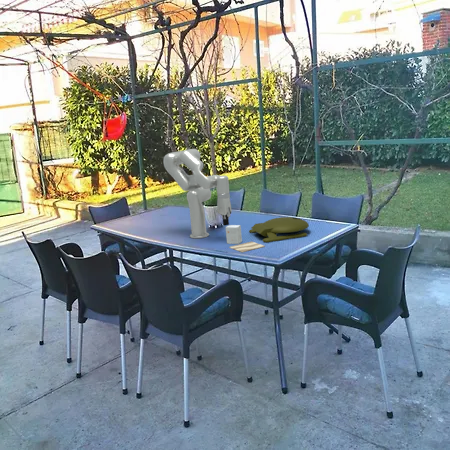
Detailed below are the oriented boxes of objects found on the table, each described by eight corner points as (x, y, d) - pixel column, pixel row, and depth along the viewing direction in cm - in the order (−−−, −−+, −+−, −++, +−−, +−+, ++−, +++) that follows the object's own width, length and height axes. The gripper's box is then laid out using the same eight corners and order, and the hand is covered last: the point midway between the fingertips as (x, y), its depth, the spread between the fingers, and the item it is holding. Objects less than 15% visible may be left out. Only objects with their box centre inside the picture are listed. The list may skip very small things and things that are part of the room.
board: (229, 247, 280) (229, 246, 279) (251, 242, 287) (251, 241, 287) (242, 252, 268) (241, 251, 268) (265, 246, 275) (265, 245, 275)
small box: (242, 241, 290) (241, 225, 288) (238, 244, 285) (237, 227, 283) (230, 241, 293) (228, 224, 291) (226, 243, 288) (225, 227, 286)
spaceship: (264, 243, 283) (263, 228, 281) (248, 232, 312) (247, 218, 310) (317, 235, 292) (317, 220, 289) (297, 225, 321) (296, 211, 318)
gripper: (212, 195, 295) (214, 224, 299) (224, 198, 282) (227, 228, 286) (222, 193, 298) (225, 222, 303) (235, 196, 286) (237, 225, 290)
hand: (226, 224), depth 294 cm, fingers closed
